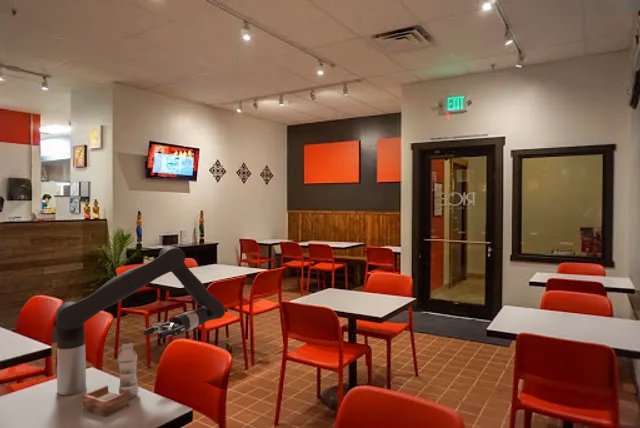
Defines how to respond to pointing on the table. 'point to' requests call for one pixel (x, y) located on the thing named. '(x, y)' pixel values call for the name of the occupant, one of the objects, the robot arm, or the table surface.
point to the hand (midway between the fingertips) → (151, 334)
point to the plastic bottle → (128, 369)
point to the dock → (105, 401)
